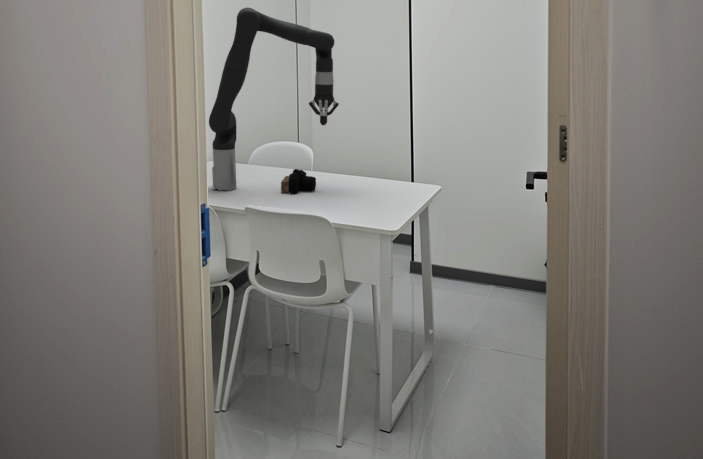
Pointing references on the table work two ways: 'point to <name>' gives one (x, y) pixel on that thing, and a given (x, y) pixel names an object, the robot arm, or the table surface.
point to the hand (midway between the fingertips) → (323, 124)
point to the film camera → (301, 182)
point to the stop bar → (285, 185)
